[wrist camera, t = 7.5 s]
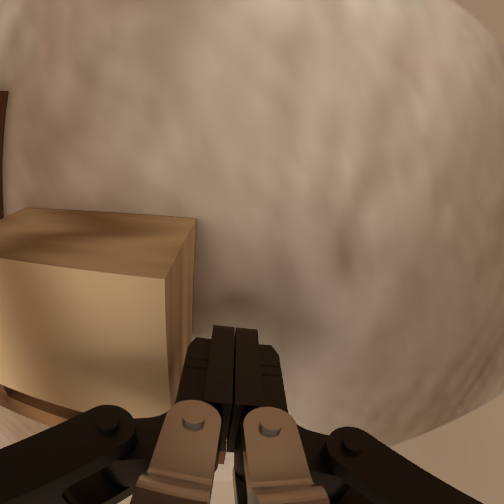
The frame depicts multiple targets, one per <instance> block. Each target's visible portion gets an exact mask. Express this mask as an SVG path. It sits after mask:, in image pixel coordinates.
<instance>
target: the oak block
mask: <svg viewBox="0 0 504 504" xmlns="http://www.w3.org/2000/svg"><path fill="white" fill-rule="evenodd" d="M195 232H196V219H195V218H183V217H170V216H156V215H142V214H128V213H112V212H96V211H78V210H58V209H36V208H25V209H22V210H20V211H18V212H15V213H13V214H11V215H9V216H7V217H4V218H2V219H0V384H1V385H4V386H6V387H9V388H11V389H14V390H16V391H19V392H21V393H24V394H27V395H29V396H32V397H35V398H38V399H41V400H44V401H47V402H50V403H53V404H56V405H59V406H63V407H66V408H69V409H73V410H76V411H80V412H85V411H87V410H90V409H92V408H94V407H96V406H100V405H115V406H119V407H121V408H123V409H125V410H127V411H128V412H129V413H130V414H131V415H132V417H133V418H149V417H155V416H159V415H162V414H164V413H166V412H167V411H168V410H169V409H170V407H172V406H173V405H174V403H175V401H176V397H177V392H178V388H179V383H180V379H181V374H182V370H183V366H184V361H185V357H186V352H187V348H188V345H189V344H190V343H191V340H192V313H193V277H194V252H195Z"/></svg>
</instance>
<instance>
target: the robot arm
mask: <svg viewBox="0 0 504 504" xmlns="http://www.w3.org/2000/svg"><path fill="white" fill-rule="evenodd" d="M234 332H235V337H234ZM226 440H227V452H234V467H233V474H232V475H233V486H234V497H235V504H483V503H481V502H479V501H477V500H475V499H474V498H472V497H470V496H468V495H466V494H464V493H462V492H461V491H459V490H457V489H455V488H454V487H452V486H450V485H449V484H447V483H445V482H443V481H442V480H440V479H438V478H437V477H435V476H433V475H432V474H430V473H428V472H427V471H425V470H423V469H422V468H420V467H418V466H417V465H415V464H414V463H412V462H411V461H409V460H407V459H406V458H404V457H403V456H401V455H399V454H398V453H396V452H395V451H393V450H392V449H390V448H389V447H387V446H386V445H384V444H383V443H381V442H380V441H378V440H377V439H376V438H374V437H373V436H371V435H370V434H368V433H367V432H365V431H363V430H361V429H359V428H355V427H341V428H338V429H336V430H334V431H333V432H332V433H331V434H330V435H325V434H320V433H316V432H312V431H309V430H306V429H304V428H302V427H300V426H299V425H297V424H296V422H295V420H294V419H293V417H292V416H291V415H289V413H288V410H287V403H286V397H285V391H284V384H283V378H282V372H281V368H280V359H279V355H278V354H277V352H276V351H275V350H274V348H273V347H272V346H271V345H261V344H259V342H258V331H257V330H255V329H245V328H236V330H235V328H234V327H227V326H218V325H213V332H212V339H205V338H197V337H196V338H195V339H194V340H193V341H192V342H191V343H190V344H189V345H188V348H187V352H186V357H185V361H184V366H183V370H182V374H181V379H180V383H179V388H178V392H177V397H176V401H175V403H174V405H173V406H172V407H170V409H169V410H168V411H167V412H166V413H164V414H162V415H159V416H155V417H149V418H133V417H132V415H131V414H130V413H129V412H128V411H127V410H125V409H123V408H121V407H119V406H115V405H100V406H96V407H94V408H92V409H90V410H87V411H85V412H83V413H81V414H79V415H77V416H75V417H73V418H71V419H69V420H66V421H64V422H62V423H60V424H58V425H55V426H53V427H51V428H49V429H47V430H44V431H42V432H40V433H38V434H35V435H33V436H31V437H28V438H26V439H24V440H21V441H19V442H17V443H14V444H12V445H9V446H7V447H4V448H2V449H0V504H117V503H119V502H120V501H122V500H123V499H125V498H127V497H128V496H130V495H132V494H133V495H132V498H131V501H130V504H210V499H211V493H212V486H213V480H214V473H215V471H216V469H217V467H218V461H219V454H220V451H222V452H225V446H226Z"/></svg>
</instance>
